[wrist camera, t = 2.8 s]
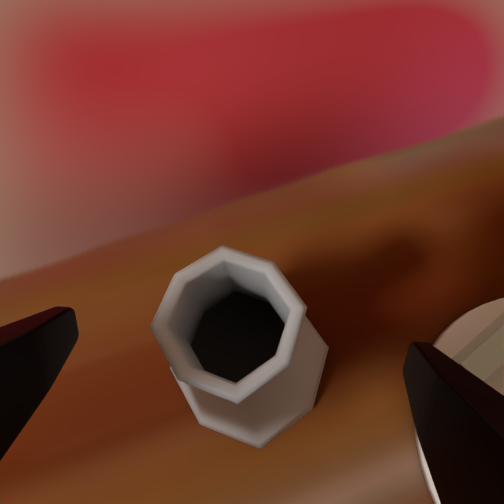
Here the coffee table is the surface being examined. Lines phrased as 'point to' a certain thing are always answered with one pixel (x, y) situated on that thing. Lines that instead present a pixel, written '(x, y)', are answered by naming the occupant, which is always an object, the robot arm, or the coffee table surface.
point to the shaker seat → (472, 356)
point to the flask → (240, 345)
